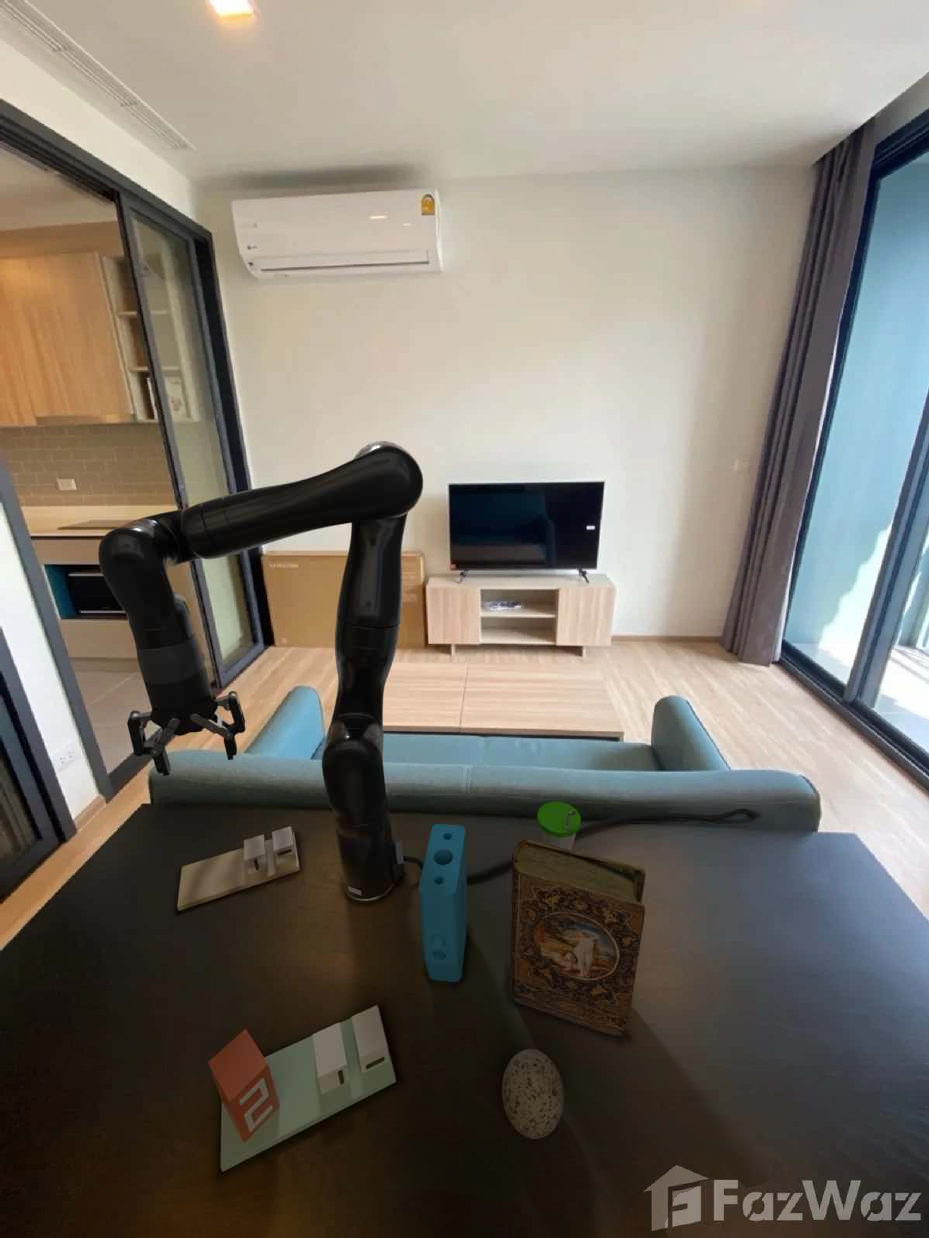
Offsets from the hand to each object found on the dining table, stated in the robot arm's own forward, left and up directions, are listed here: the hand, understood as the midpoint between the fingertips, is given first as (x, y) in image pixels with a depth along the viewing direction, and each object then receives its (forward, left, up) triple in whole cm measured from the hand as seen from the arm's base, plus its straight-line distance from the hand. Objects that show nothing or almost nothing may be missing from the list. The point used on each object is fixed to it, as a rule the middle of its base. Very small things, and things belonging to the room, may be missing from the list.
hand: (200, 764), depth 74 cm
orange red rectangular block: (-1, +30, -29) cm, 42 cm away
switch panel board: (-8, +30, -30) cm, 43 cm away
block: (-30, +22, -30) cm, 48 cm away
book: (-43, +35, -30) cm, 63 cm away
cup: (-55, +14, -30) cm, 64 cm away
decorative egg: (-32, +44, -30) cm, 62 cm away
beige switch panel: (0, -8, -30) cm, 31 cm away
